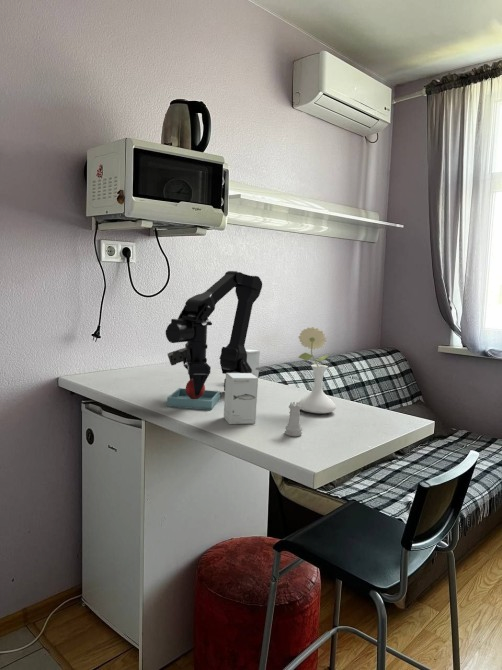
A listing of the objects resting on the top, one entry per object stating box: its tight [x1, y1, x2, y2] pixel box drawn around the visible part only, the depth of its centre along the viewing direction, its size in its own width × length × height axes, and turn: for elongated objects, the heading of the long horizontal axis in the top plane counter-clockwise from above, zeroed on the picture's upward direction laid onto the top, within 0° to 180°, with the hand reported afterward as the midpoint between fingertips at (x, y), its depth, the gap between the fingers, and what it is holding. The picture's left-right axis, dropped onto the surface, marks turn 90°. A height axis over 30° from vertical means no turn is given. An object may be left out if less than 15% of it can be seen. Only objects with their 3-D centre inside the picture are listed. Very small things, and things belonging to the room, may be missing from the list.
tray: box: [166, 387, 221, 411], centre depth 159 cm, size 13×13×3 cm
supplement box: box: [223, 373, 259, 425], centre depth 142 cm, size 7×7×13 cm
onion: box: [185, 378, 206, 399], centre depth 159 cm, size 6×6×8 cm
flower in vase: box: [298, 326, 337, 414], centre depth 156 cm, size 13×11×25 cm
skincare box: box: [245, 349, 260, 379], centre depth 192 cm, size 6×4×12 cm
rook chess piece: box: [284, 401, 303, 438], centre depth 133 cm, size 4×4×8 cm
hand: (194, 391), depth 159 cm, fingers open, 9 cm apart
